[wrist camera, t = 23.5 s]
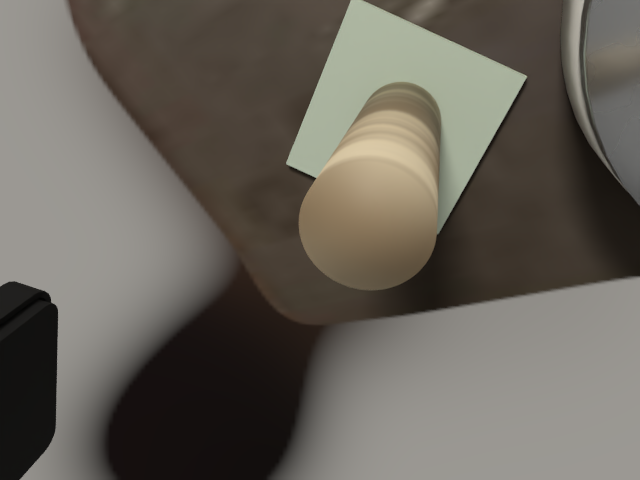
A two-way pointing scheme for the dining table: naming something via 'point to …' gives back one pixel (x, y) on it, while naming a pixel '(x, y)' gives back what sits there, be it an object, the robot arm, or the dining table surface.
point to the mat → (414, 67)
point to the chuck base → (576, 70)
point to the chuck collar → (613, 83)
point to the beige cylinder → (378, 193)
